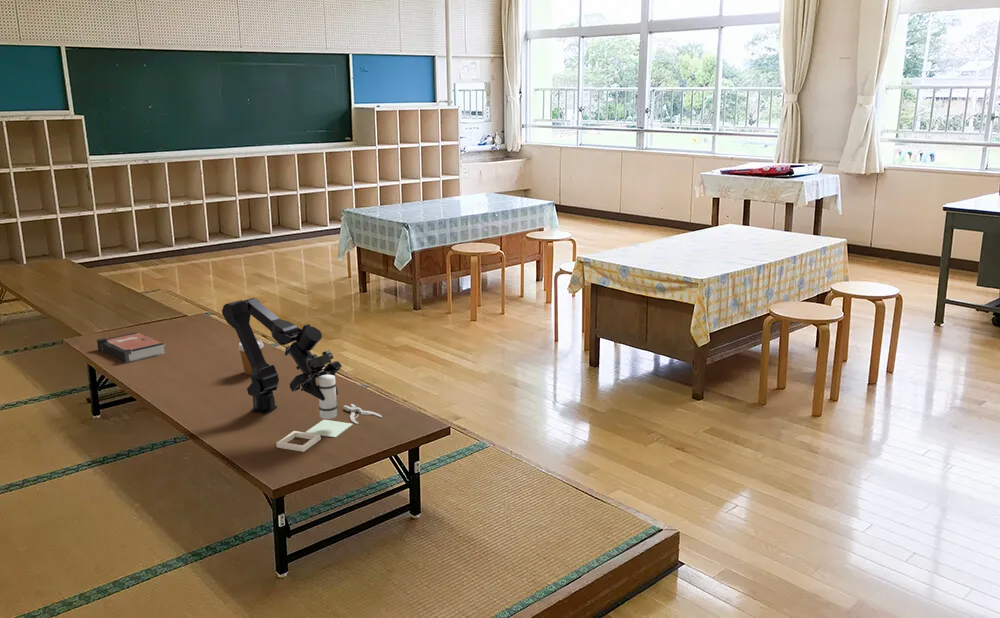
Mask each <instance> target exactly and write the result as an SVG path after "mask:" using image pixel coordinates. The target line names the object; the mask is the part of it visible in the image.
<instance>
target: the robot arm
mask: <svg viewBox="0 0 1000 618" xmlns="http://www.w3.org/2000/svg"><path fill="white" fill-rule="evenodd" d="M221 312H222V316H223V317H224V319H225V322H226V323H227V324H228V326H230V327H232V328H233V329H234V330H235V331H236V334H237V337H238V339H239V341H240V342H241V344H242V346H243V349H244V351H245V353H246V356H247V358H248V360H249V363H250V365H251V368H252V370H251V375H250V380H251V384H250V385H249V386H248V387H246V391H247V394H248V396H252V404H253V405H252V406H253V407H252V408H251V409H250V412H253V413H262V414H268V413H269V412H271V411H273V410H274V409H276V408H278V406H277V405H276V401H275V396H274V392H275V391H277V389H278V385H279V381H280V379H279V374H278V372H277V370H276V369H277V368H276V367H275V365H274V364H269V363H267V362H266V360H265V357H264V355H263V353H262V352H261V350H260V347H259V345H258V343H257V340H258V339H257V338H256V336H255V334H254V331H253V329H252V327H251V324H250V322H251V316H252V317H253V318H254V319H256V321H258V322H259V323H261V325H263V326H264V327H265V328H266V329H268V330H269V331H270V333H271V337H272V338H273V339H274V340H275V341H276V343H278V345H280V346H285V345H289V344H290V343H291V344H290V345H289V346H286V347H285V351H284V355H285V356H289V355H290V356H291V357H292V359H293V361H294V362H295V365H297V366H296V367H295V368H296V370H297V371H299V370H300V371H301V372H302V373H301V374H298V375H296V376H294V378H293V379H292V380H291V381H290V382H289V388H290V391H291V392H292V393H294V392H297V391H299V390H300V391H301V392H305V393H307V394H309V395H312V396H313V397H315V398H317V399H318V400H319V399H320V400H322V401H324V400H325V397H324V396H323V394H322V392H321V391H320V389H319V388H318V384H317V381H316V379H318V377H319V376H322V375H334V376H335V377H336V374H338V372H339V371H340V370H341V368H343V366H342V364H341V363H340V361H337V360H334V361H332V360H333V359H334V355H333V353H332V352H331V350H329V349H328V350H325V351H322V353H321V354H322V355H319V356H318V354H316V353H315V354H312V352H311V351H312V350H313V349H314V348H315V346H316V345H318V343H319V342H320V341H321V339H323V334H322V332H321V331H320V329H318V328H316V327H314V326H311V324H310V323H307V324H304V325H303V327H302V328H300V327H298V326H297V324H294V323H293V322H291V321H289V320H285V319H281V318H280V317H278V316H277V315H276V314H275V313H274V312H273V311H272V310H270V309H268V308H267V306H265V305H264V304H262V303H261V302H260V300H259V299H258V298H257V297H251V298H248V299H244V300H243V299H239V300H235V301H232V302H228V303H225V304H224V305H223V306H222V309H221ZM240 342H239V343H240ZM338 394H339V391H338V387H336V396H337V395H338Z"/></svg>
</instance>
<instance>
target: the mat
mask: <svg viewBox="0 0 1000 618" xmlns="http://www.w3.org/2000/svg"><path fill="white" fill-rule="evenodd" d="M353 426H354V423H350V422H343V421H335V420H330V419H322V420H321V421H319V422H318V423H316V424H314V425H313V426H312V427H311V428H309V429H307V430H306V431H305V433H311V434H317V435H321V436H323V437H330V438H335V439H336V438H337V437H339V436H340V435H342V434H343V433H344V432H346V431H347V430H348V429H349V428H350V427H353Z"/></svg>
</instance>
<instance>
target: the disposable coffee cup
mask: <svg viewBox="0 0 1000 618" xmlns="http://www.w3.org/2000/svg"><path fill="white" fill-rule="evenodd" d="M256 340H257V343H258V345H259V347H260V350H261V352H262V354H263V351H264V350H263V349H264V343H263V341H262V340H261V339H256ZM237 348H238V351H239V353H240V357H241V362H242V366H243V369H244V370H243V371H244V374H245V375H248V376H251V370H252V368H251V365H250V363H249V360H248V358H247V356H246V353H245V351H244V349H243V346H242V344H241V342H239V343H238V347H237Z"/></svg>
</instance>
